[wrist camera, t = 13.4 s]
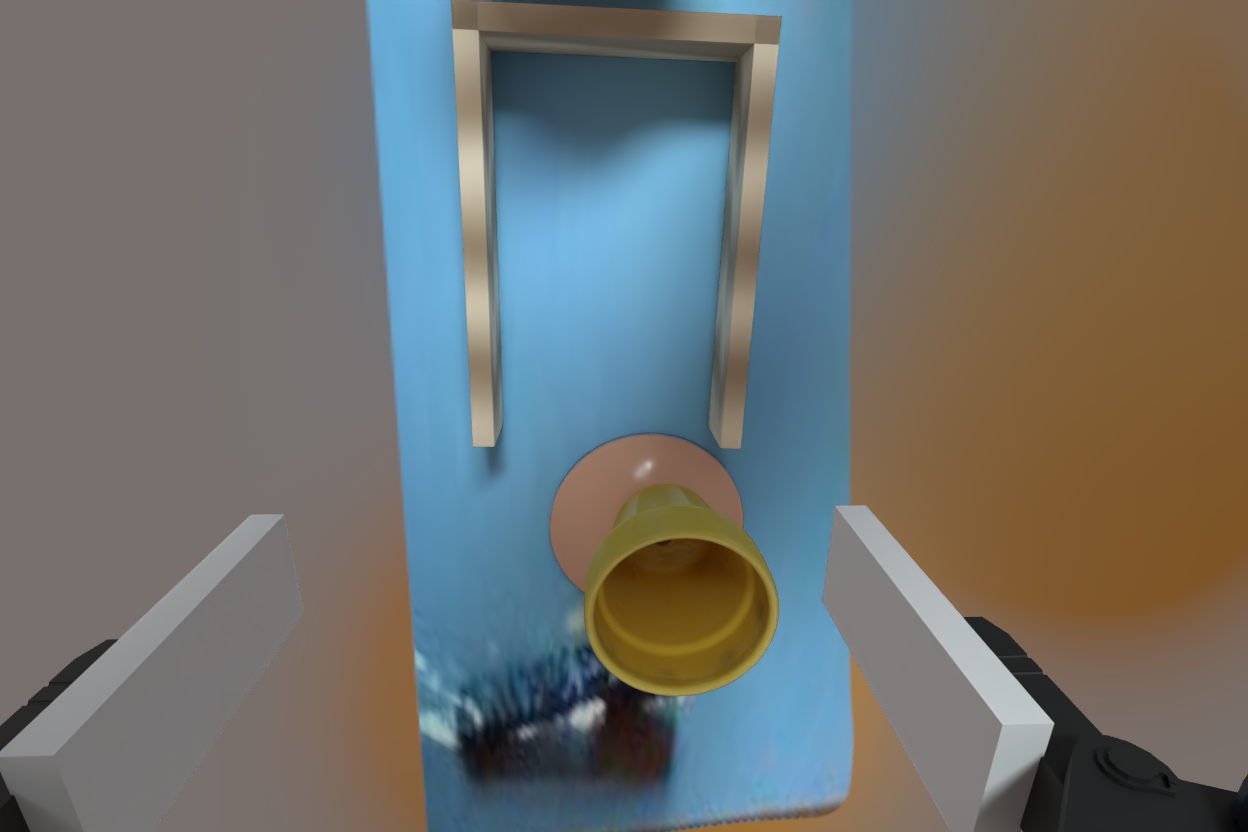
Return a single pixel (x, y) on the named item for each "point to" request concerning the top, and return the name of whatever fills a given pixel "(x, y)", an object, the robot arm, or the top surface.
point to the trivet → (629, 491)
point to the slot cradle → (616, 36)
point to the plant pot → (678, 596)
